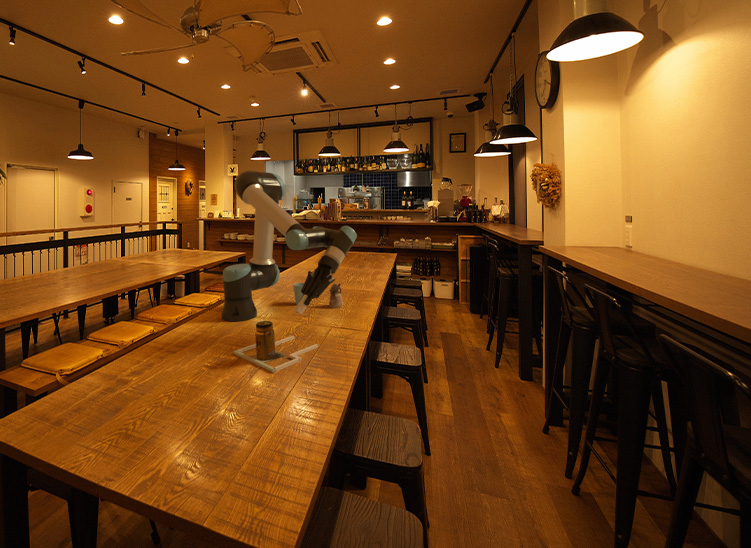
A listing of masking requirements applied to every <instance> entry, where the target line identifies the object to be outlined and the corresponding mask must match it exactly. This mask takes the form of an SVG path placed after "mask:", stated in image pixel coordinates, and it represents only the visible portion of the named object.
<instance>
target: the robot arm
mask: <svg viewBox="0 0 751 548" xmlns="http://www.w3.org/2000/svg"><path fill="white" fill-rule="evenodd" d="M285 185H286V184H285V182H284V180H283V179H282V177H281V176H279V174H277V173H272V172H266V171H256V170H245V171H242V172H241V173H239V174H238V175H237V177H236V179H235V181H234V190H235V192H236V195H237V196H238V197H239V199H240V200H241V201H243V203H244V204H246V205H251V207H252V208H253V209H254V227H253V228H254V230H253V231H254V232H253V254H252V257H251V258H250V259H249V264H248V263H238V264H237V263H236V264H232V265H228V266H227V267H225V268H223V270H222V281H223V296H224V297H223V298H224V302H223V305H222V309H221V313H220V314H221V320H223V319H224V320H223V321H225V320H228V321H227V322H243V321H248V320H251V319H254V318H256V317H257V315H258V310H257V307H256V305H255V303H254V300H253V292H254V291H257V290H263V289H268V288H270V287H273V286H275V285H276V284H277V283H278V281H279V279H280V275H281V274H280V273H281V272H280V269H279V266H278V264H276V260H275V259H273V251H274V250H273V248H274V246H273V245H274V235H275V234H274V233H275V229H276V230H278V232H279V233H280V234H282V235H283V236H284V237H285V239H284V240H285V243H286V245H287V247H288V248H289V249H290V250H292V251H303V250H306V249H307V250H309V249H315V248H323V247H324V248H326V250H325V251H324V252H323V254H322V256H321V258H319V260H318V262H317V267H316V268H314V270H313V271H310V270H308V272H307V276H306V278H305V281H304V282H303V283H304V285H303V287H302V290H301V292H302V293H303V296H302V298H301V299H300V301H299V303H298V305H297V304H296V307H294V310H295V311H296V312H297V314H301V315H303V312H305V310H306V308H307V307H308V306H309V304H310V303H311V301H312V300H313V299H318V298H319V297H320V296H321V295H322V293H324V292H325V291H326V289H328V287H329V286H330V285H331V284H332V283H333V282H335V280H336V279H335V278H334V276H333V275H334V274H335V273H336V272H337V270H338V269H339V266H341V264H342V262H343V260H344V259H345V257H346V255H347V254H348V252H349V251H350V249H351V248H352V247H353V245H354V243H355V241H356V239H357V237H358V235H357V233H356V231H355V230H354V228H352V227H350V226H349V225H343V226H341V227H340V228H339V230H336V229H331V228H326V227H323V226H313V227H312V228H305V227H304V226H303V225H302V224H300V223H299V222H298V221H297V220H296V219H295V218H294V217H293V216H291V215H290V214H289V212H287V211H286V210H285V209H284V208H283V207H281V206H280V200H281V199H283V198H284V196H285V194H286V186H285Z"/></svg>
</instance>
